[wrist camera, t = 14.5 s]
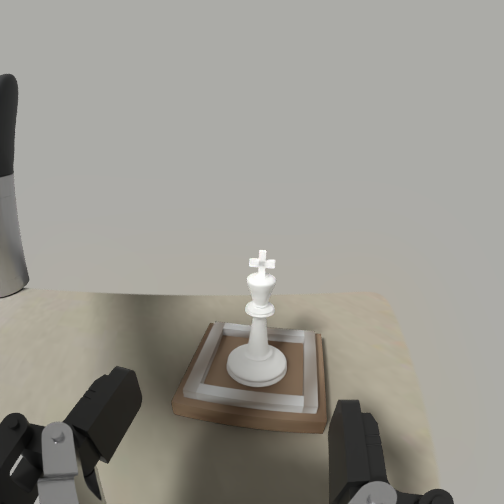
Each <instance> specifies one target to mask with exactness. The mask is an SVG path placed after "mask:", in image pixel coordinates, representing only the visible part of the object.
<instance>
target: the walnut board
mask: <svg viewBox="0 0 504 504" xmlns="http://www.w3.org/2000/svg"><path fill="white" fill-rule="evenodd" d="M250 332H251V325H242V324H233V323H225V322H217V321H215V323H210V324H209V326H208V328H207V330H206V332H205V334H204V336H203V338H202V340H201V342H200V344H199V346H198V348H197V350H196V352H195V354H194V356H193V358H192V360H191V362H190V364H189V366H188V369H187V371H186V373H185V375H184V377H183V379H182V381H181V383H180V385H179V387H178V389H177V391H176V393H175V395H174V397H173V399H172V401H171V404H172V408H173V412H174V414H176V415H180V416H185V417H189V418H194V419H199V420H204V421H209V422H214V423H220V424H226V425H232V426H239V427H246V428H254V429H262V430H272V431H283V432H297V433H319V434H323V431H324V428H325V425H326V423H327V416H326V396H325V379H324V365H323V352H322V340H321V334H315V331H306V330H293V329H282V328H271V327H267V338H268V345H271V346H273V347H275V348H277V349H279V350H280V351H281V352H282V353H283V354H284V356H285V358H286V361H287V371H286V374H285V376H284V377H283V378H282V379H281V380H280V381H279V382H277V383H275V384H273V385H270V386H265V387H251V386H246V385H243V384H240V383H238V382H237V381H235V380H234V379H233V378H232V377H231V376H230V375H229V373H228V371H227V360H228V356H229V354H230V353H231V352H232V351H233V350H234V349H235V348H237V347H239V346H241V345H244V344H248V342H249V337H250Z"/></svg>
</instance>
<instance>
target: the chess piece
mask: <svg viewBox="0 0 504 504" xmlns="http://www.w3.org/2000/svg"><path fill="white" fill-rule="evenodd" d="M249 266H250V267H259V270H258V272H257V273H253V274H251V275H249V276H248V277H247V284H248V287H249V288H250V292H251V296H252V299H253V301H251V302H249V303H248V304H247V305H246V308H245V311H246V313H247V314H248V315H250V316H252V317H253V319H252V326H251V332H250V337H249V342H248V344H244V345H241V346H239V347H237V348H235V349H234V350H233V351H232V352H231V353H230V354H229V356H228V360H227V371H228V373H229V375H230V376H231V377H232V378H233V379H234V380H235V381H237V382H238V383H240V384H243V385H246V386H251V387H265V386H270V385H273V384H275V383H277V382H279V381H280V380H281V379H282V378H283V377H284V376H285V374H286V371H287V361H286V358H285V356H284V354H283V353H282V352H281V351H280V350H279V349H277V348H275V347H273V346H271V345H268V338H267V322H266V317H269V316H271V315H273V314H274V312H275V309H274V306H273V304H271V303H270V302H268V300H269V298H270V295H271V293H272V290H273V288H274V286H275V284H276V278H275V277H274V276H273V275H271V274H269V273H265V268H275V260H269V259H266V251H265V250H260V251H259V259H255V258H250V260H249Z"/></svg>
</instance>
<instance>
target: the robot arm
mask: <svg viewBox="0 0 504 504" xmlns="http://www.w3.org/2000/svg"><path fill="white" fill-rule="evenodd" d="M17 105H18V85H17V81H16V78H15V77H14V76H13V75H11V74H4V75H0V297H4V296H7V295H10V294H13V293H15V292H17V291H19V290H20V289H22V288H23V287H24V286H25V285H27V283H28V282H29V276H28V272H27V267H26V263H25V258H24V253H23V247H22V242H21V236H20V229H19V223H18V215H17V208H16V198H15V187H14V174H13V173H14V171H13V162H14V138H15V125H16V115H17ZM141 403H142V394H141V390H140V387H139V384H138V380H137V377H136V373H135V372H134V371H133V370H130V369H126V368H123V367H119V366H116V367H115V368H114V369H113V370H112V371H111V373H110V374H109V375H103V376H101V377H100V378H98V379H97V380H95V381H94V382H93V384H92V385H91V386H90V387H89V390H88V391H86V393H85V394H84V395H83V397H82V398H81V399H80V400H79V402H78V403H77V404H76V405H75V407H74V408H73V409H72V411H71V412H70V413H69V415H68V416H67V417H66V419H65V420H64V421H63V422H53V423H50V424H48V425H47V426H46V427H44V426H39V425H35V424H30V423H29V422H28V421H27V419H26V418H25V416H24V415H22V414H20V413H12V414H9V415H7V416H6V417H5V418H4V419H3V421H2V422H1V423H0V504H34V502H35V500H36V498H37V497H38V495H39V501H40V504H107V503H106V500H105V496H104V493H103V489H102V485H101V482H100V478H99V473H98V469H97V466H96V464H97V462H98V461H99V460H100V461H103V462H105V463H107V464H108V463H109V461H110V459H111V458H112V456H113V454H114V452H115V451H116V449H117V447H118V445H119V444H120V442H121V440H122V438H123V437H124V435H125V433H126V431H127V430H128V428H129V426H130V424H131V423H132V421H133V419H134V417H135V416H136V414H137V412H138V411H139V409H140V407H141ZM328 444H329V504H454V503H453V498H452V496H451V495H450V494H449V493H448V492H447V491H445V490H442V489H433V490H430V491H428V492H427V493H425V494H424V495H416V494H408V493H402V492H399V491H397V490H395V489H394V488H393V487H392V486H391V485H390V484H389V482H388V480H387V475H386V469H385V462H384V456H383V450H382V445H381V439H380V436H379V429H378V423H377V422H376V420H375V419H374V417H373V416H372V415H371V413H361V408H360V403H359V400H338V402H337V405H336V408H335V411H334V414H333V416H332V419H331V422H330V426H329V432H328ZM20 455H22V456H23V458H22V459H21V461H20V462H19V464H18V465H17V467H16V469H15V470H14V472H13V473H12V475H11V476H10V470H11V469H12V467H13V465H14V464H15V462H16V460H17V459H18V458H19V456H20Z"/></svg>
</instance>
